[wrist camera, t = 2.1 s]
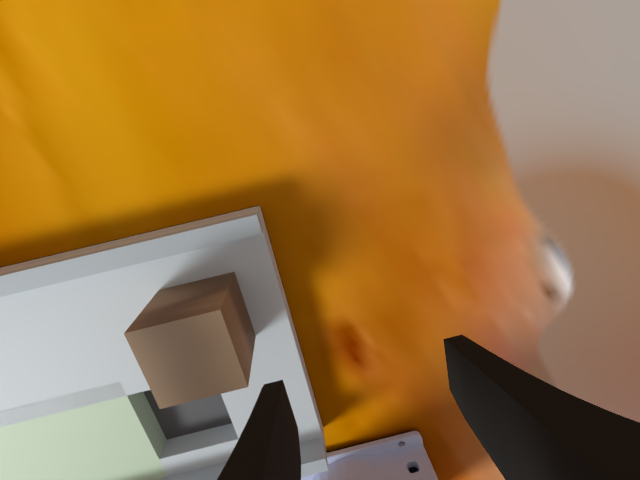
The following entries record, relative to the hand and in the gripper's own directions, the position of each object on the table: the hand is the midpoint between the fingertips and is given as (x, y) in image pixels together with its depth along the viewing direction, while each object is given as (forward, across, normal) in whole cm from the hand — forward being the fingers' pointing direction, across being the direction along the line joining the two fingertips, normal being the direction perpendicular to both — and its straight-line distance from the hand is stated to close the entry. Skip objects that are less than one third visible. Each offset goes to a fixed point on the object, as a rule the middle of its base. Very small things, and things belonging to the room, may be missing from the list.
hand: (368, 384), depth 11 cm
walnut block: (+8, +7, 0) cm, 10 cm away
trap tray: (+9, +15, +3) cm, 18 cm away
